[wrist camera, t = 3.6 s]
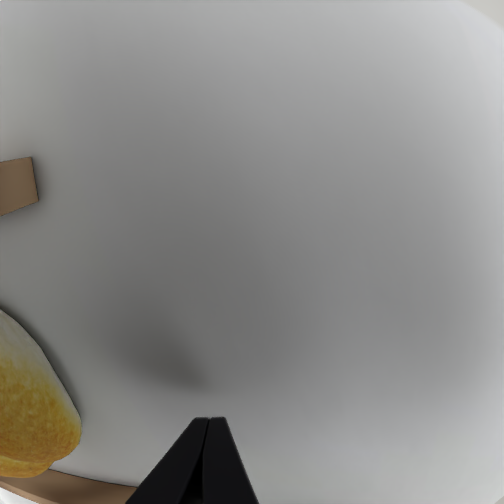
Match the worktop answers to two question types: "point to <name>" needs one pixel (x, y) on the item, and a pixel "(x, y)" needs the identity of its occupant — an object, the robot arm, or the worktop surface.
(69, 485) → the guide channel
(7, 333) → the bread roll
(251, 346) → the worktop surface
